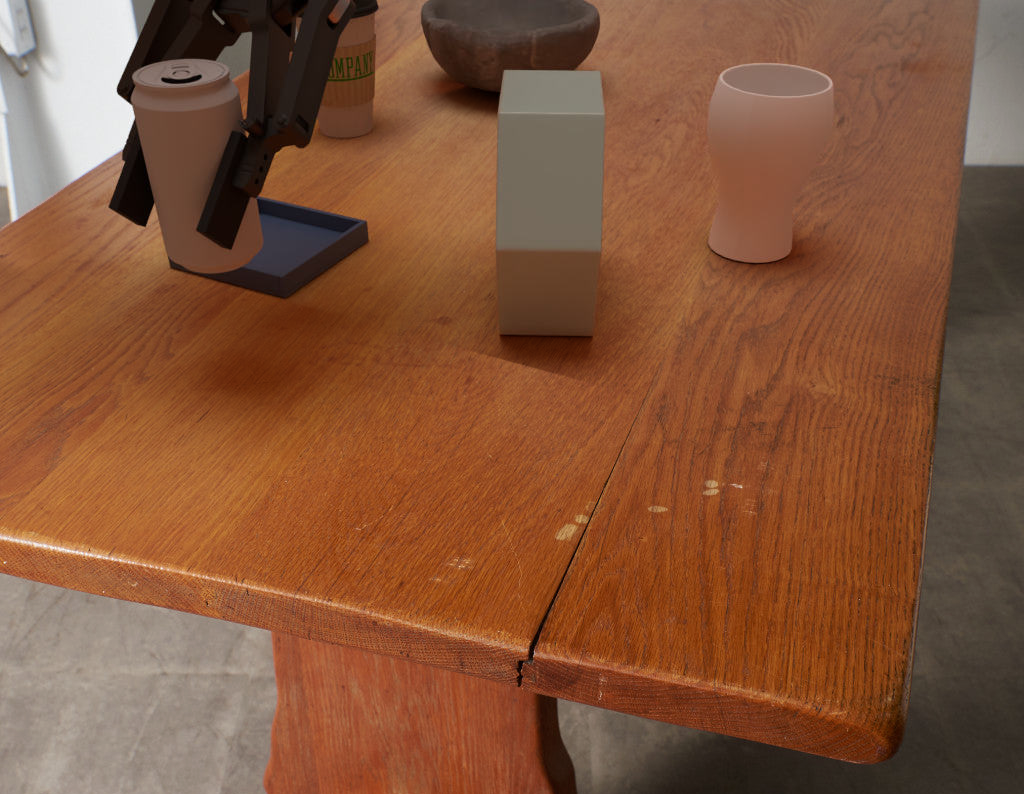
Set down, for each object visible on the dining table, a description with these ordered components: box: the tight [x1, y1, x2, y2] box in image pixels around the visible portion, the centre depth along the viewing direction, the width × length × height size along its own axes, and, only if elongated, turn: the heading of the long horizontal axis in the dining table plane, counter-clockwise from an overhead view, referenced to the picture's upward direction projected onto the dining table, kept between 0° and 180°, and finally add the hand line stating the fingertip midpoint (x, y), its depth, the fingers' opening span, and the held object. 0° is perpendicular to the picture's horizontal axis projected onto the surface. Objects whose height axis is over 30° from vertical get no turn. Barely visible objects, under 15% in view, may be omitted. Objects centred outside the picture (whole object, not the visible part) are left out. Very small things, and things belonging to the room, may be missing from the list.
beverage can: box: [131, 59, 263, 273], centre depth 64 cm, size 6×6×12 cm
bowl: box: [420, 0, 601, 93], centre depth 128 cm, size 23×22×10 cm
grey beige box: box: [494, 70, 606, 337], centre depth 81 cm, size 17×8×21 cm
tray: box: [166, 195, 370, 299], centre depth 93 cm, size 13×13×2 cm
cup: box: [706, 62, 835, 264], centre depth 90 cm, size 11×11×15 cm
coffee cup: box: [296, 0, 380, 139], centre depth 115 cm, size 10×10×15 cm
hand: (170, 228), depth 63 cm, fingers closed on beverage can, 6 cm apart
